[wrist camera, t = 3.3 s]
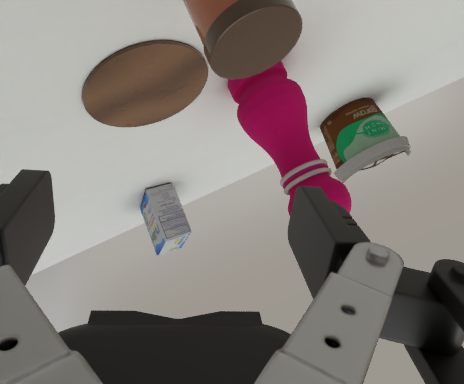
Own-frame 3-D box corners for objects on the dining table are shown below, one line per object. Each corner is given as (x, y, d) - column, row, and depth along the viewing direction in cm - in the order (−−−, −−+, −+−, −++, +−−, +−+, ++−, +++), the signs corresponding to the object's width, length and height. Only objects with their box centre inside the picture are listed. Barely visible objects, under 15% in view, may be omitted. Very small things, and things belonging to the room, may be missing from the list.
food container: (391, 81, 60) (426, 138, 57) (380, 102, 66) (411, 154, 63) (316, 113, 59) (347, 171, 56) (311, 131, 65) (339, 184, 62)
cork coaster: (52, 101, 35) (53, 105, 35) (158, 16, 31) (159, 20, 31) (140, 135, 45) (141, 138, 45) (226, 75, 42) (228, 78, 41)
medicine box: (145, 188, 60) (164, 241, 57) (173, 181, 62) (192, 232, 59) (139, 208, 67) (156, 256, 64) (165, 201, 68) (182, 248, 66)
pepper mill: (230, 56, 39) (322, 246, 33) (294, 45, 41) (390, 219, 35) (217, 101, 45) (292, 266, 40) (273, 88, 48) (351, 242, 42)
